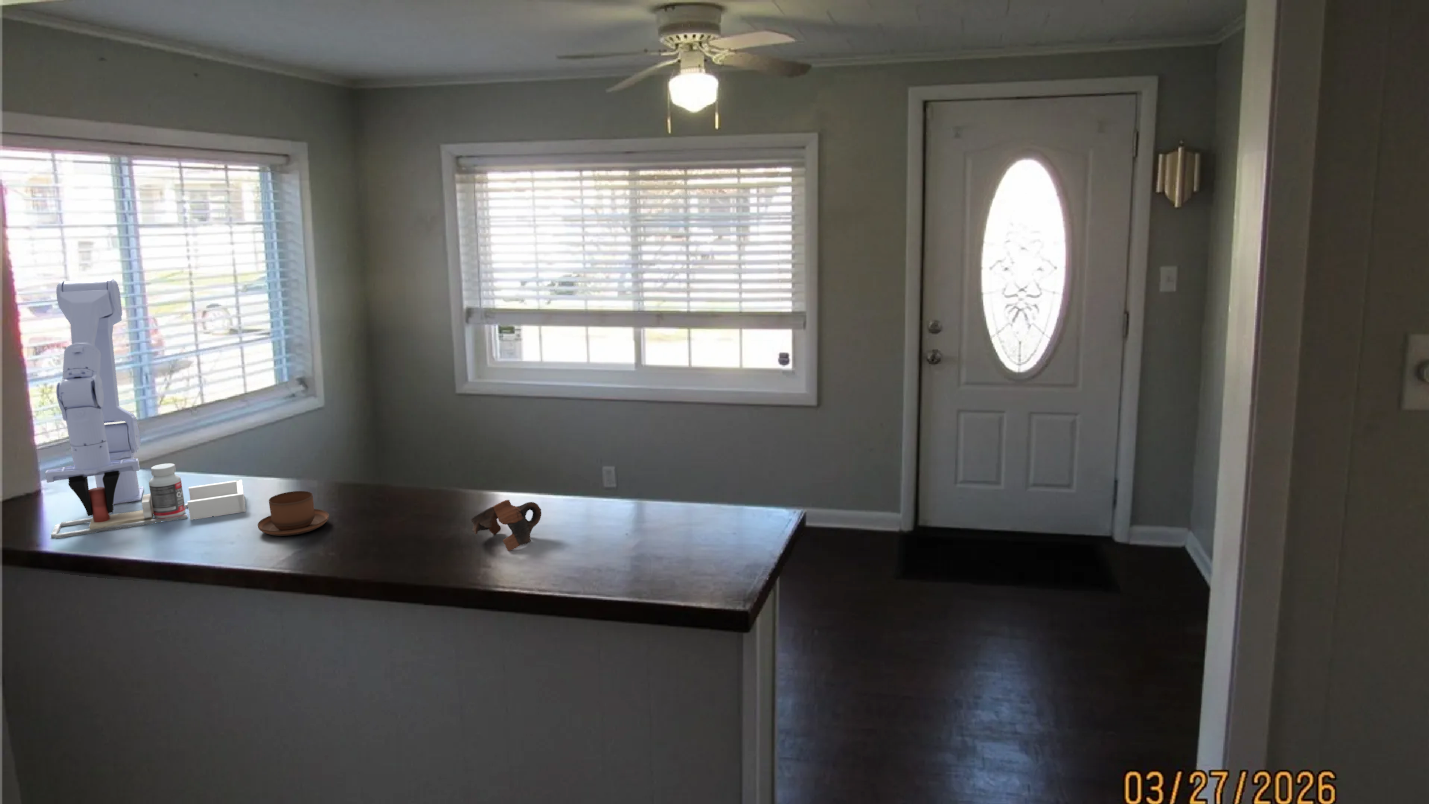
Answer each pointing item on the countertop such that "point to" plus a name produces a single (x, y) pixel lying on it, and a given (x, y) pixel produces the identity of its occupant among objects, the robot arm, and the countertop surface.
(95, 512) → the red peg in tray
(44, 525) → the countertop surface
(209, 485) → the frame
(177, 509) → the pill bottle
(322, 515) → the cup and saucer
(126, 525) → the track
